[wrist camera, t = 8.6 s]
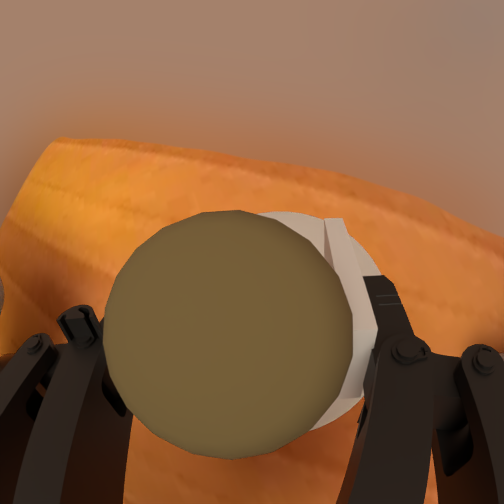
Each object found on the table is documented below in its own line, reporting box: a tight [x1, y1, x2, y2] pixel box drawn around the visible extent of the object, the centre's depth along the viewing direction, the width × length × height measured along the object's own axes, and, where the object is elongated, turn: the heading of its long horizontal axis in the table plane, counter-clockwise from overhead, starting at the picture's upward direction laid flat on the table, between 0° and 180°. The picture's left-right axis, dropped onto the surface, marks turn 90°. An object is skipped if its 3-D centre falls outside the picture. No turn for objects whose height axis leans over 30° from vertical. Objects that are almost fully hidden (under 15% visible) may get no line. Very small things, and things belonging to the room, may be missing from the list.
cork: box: [103, 210, 353, 460], centre depth 9 cm, size 6×6×11 cm
